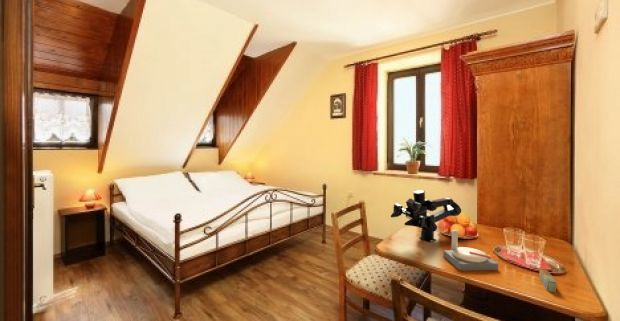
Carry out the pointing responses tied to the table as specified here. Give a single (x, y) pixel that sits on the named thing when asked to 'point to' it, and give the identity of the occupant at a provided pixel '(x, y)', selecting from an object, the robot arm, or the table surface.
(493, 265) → the level stand
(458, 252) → the dial
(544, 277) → the medication box
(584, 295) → the table surface
